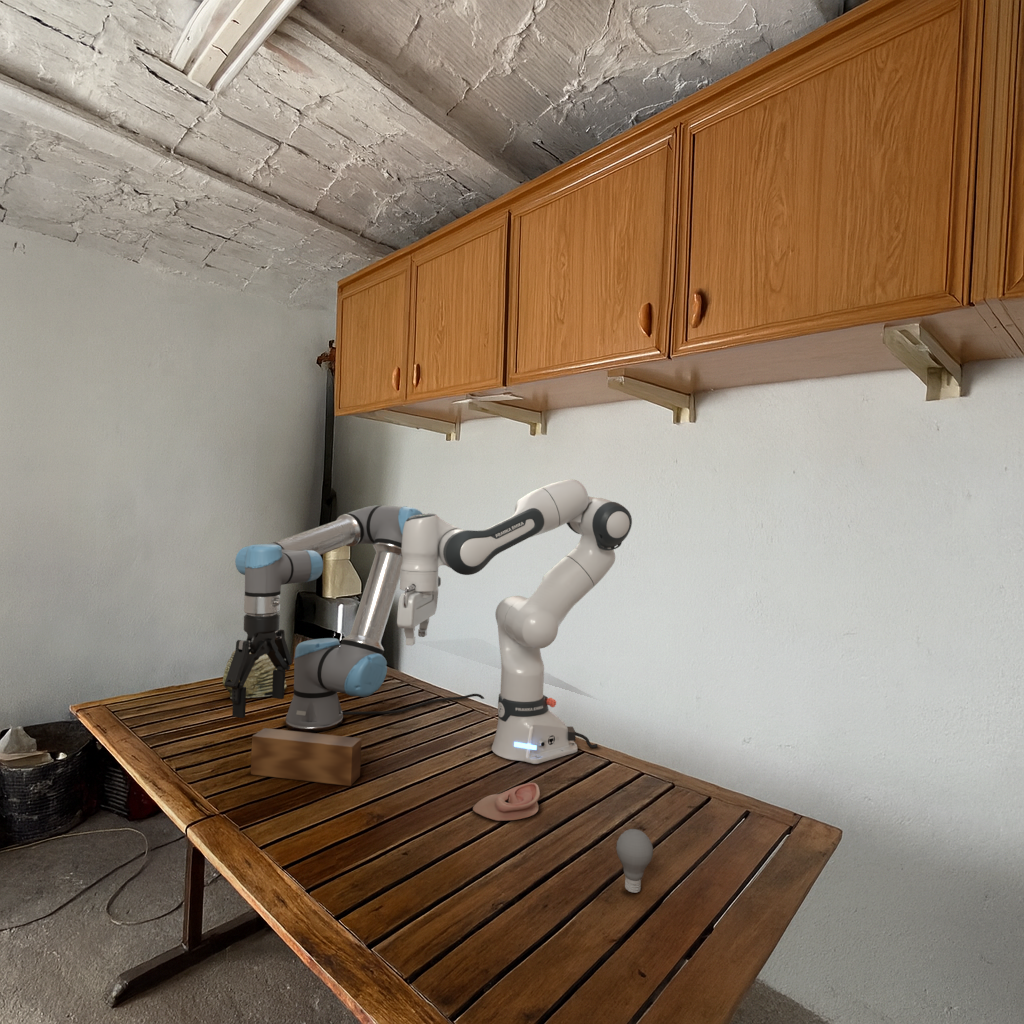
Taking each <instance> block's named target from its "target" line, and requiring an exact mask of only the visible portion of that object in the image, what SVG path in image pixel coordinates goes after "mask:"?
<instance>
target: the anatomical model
mask: <svg viewBox="0 0 1024 1024" xmlns="http://www.w3.org/2000/svg"><path fill="white" fill-rule="evenodd" d="M540 791H541V790H540V787H539V785H538V784H537V783H535V782H527V783H523V784H520V785H517V786H515V787H512V788H510V789H508V790H506V791H503V792H499V793H496V794H490V795H486V796H485V797H483V798H481V799H480V800H478V801H477V802H476V803H475V804H474V805H473V807H472V811H473V812H474V813H475V814H478V815H480V816H482V817H484V818H487V819H490V820H493V821H499V822H504V821H505V822H507V821H516V820H521V819H526V818H529V817H532V816H534V815H536V814H537V813H538V811H539V803H538V801H539V799H540V796H541V792H540Z"/></svg>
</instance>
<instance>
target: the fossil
mask: <svg viewBox="0 0 1024 1024" xmlns="http://www.w3.org/2000/svg"><path fill="white" fill-rule="evenodd" d="M234 653H235V650H233V651H232V653H231V656H230V657H229V659H228V660H227V663H226V666H225V668H224V671H223V675H222V676H223V677H222V685H223V687H224V688H225V690H226V691H228V693H229V698H230V699H232V688H231V687H226V686H225V685H224V683H225V680H226V677H227V674H228V671H229V668H230V665H231V662H232V659H233V656H234ZM249 654H251V653H249ZM273 670H277V669H276V668H275V666H274V665H273V663H272V662H271V660H270V659H269V657H268V655H267V654H264V655H263V656H260V657H259V659H258V660H256V661H255V663H254V665H253V667H252V669H251V671H250V673H249V675H248V678H247V680H246V682H245V684H244V686H243V687H246V699H250V698H264V697H272V686H273ZM231 681H232V680H231ZM239 682H240V680H239ZM287 687H288V686H287V680H286V679H285V683H284V692H285V691H286V689H287Z"/></svg>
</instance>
